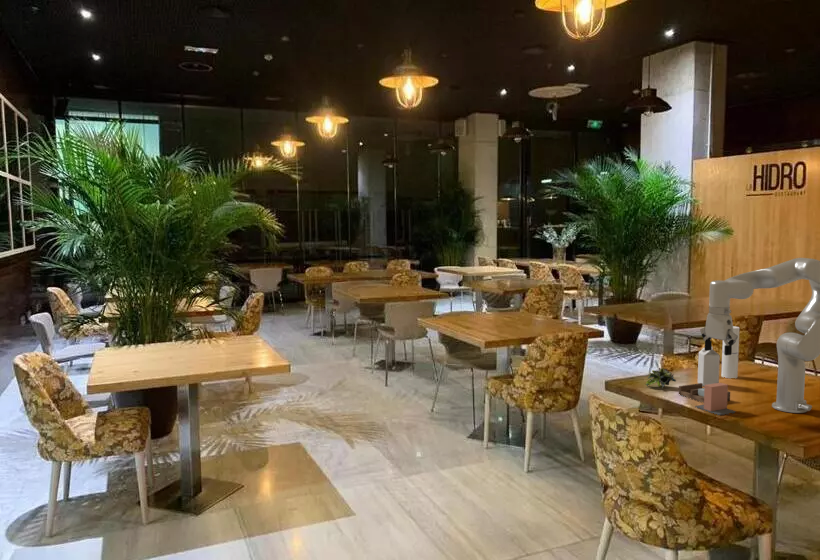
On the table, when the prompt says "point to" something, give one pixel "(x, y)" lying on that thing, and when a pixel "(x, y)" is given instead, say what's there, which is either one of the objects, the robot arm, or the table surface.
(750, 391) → the table surface
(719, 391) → the pink rectangular block
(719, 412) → the slate mat
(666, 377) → the passion flower
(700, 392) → the offcut upper
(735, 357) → the cylindrical container
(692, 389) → the rack
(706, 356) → the milk carton
